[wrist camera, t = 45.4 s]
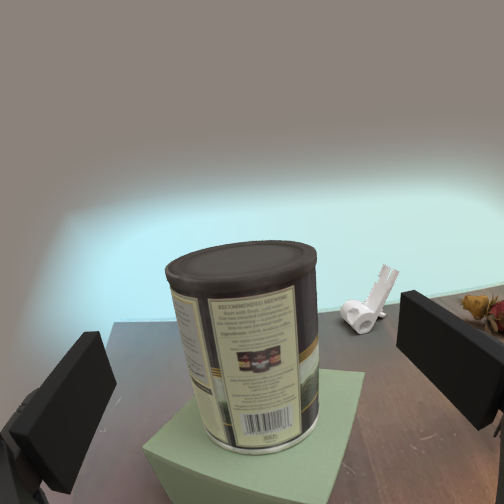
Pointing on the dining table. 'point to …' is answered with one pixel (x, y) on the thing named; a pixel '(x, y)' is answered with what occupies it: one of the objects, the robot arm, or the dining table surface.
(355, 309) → the plastic part
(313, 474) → the lid
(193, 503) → the chest
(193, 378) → the coffee can
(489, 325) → the scarecrow
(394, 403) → the dining table surface
